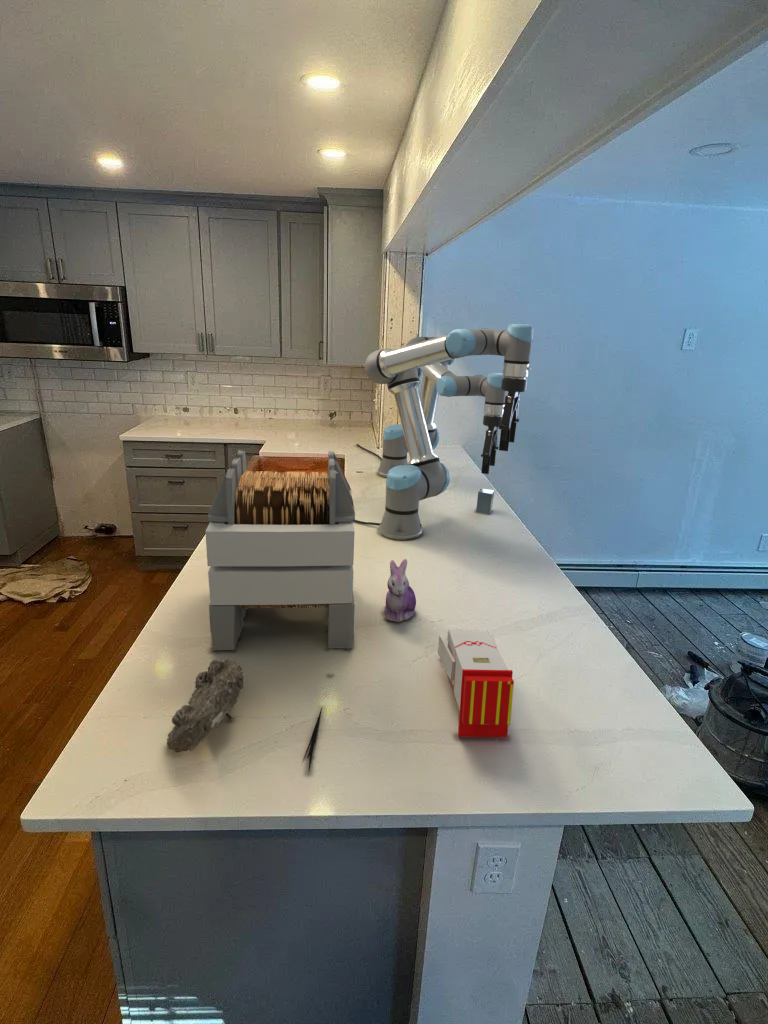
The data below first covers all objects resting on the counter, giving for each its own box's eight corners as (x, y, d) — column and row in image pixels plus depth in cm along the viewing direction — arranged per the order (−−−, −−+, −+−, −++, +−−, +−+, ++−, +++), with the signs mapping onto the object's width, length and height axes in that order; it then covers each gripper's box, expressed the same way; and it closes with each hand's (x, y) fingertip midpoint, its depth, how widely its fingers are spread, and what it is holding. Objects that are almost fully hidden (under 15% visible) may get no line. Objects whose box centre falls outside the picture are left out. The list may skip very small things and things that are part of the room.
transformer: (231, 583, 159) (223, 441, 145) (347, 582, 163) (350, 443, 149) (209, 653, 127) (196, 479, 114) (354, 649, 131) (359, 481, 117)
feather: (331, 679, 122) (336, 673, 122) (307, 777, 96) (313, 769, 95) (324, 675, 122) (329, 669, 121) (298, 772, 95) (304, 764, 95)
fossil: (192, 660, 117) (244, 628, 112) (224, 691, 120) (276, 661, 115) (142, 746, 98) (202, 712, 93) (182, 779, 101) (242, 748, 96)
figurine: (392, 627, 141) (395, 572, 136) (374, 608, 149) (376, 556, 144) (425, 619, 145) (429, 566, 140) (405, 601, 154) (408, 550, 149)
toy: (488, 613, 130) (523, 677, 101) (484, 667, 133) (517, 744, 104) (435, 612, 130) (455, 676, 101) (432, 666, 133) (451, 743, 103)
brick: (489, 514, 223) (492, 493, 220) (475, 512, 225) (478, 491, 222) (492, 510, 228) (494, 490, 225) (478, 508, 229) (480, 488, 226)
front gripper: (522, 382, 160) (513, 456, 167) (532, 374, 182) (523, 439, 189) (495, 380, 162) (487, 453, 169) (508, 373, 184) (501, 437, 191)
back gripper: (498, 421, 202) (492, 478, 209) (508, 411, 225) (502, 463, 232) (477, 419, 205) (472, 475, 212) (489, 409, 227) (484, 461, 234)
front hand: (506, 446), depth 179 cm, fingers open, 13 cm apart
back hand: (488, 469), depth 222 cm, fingers open, 13 cm apart
